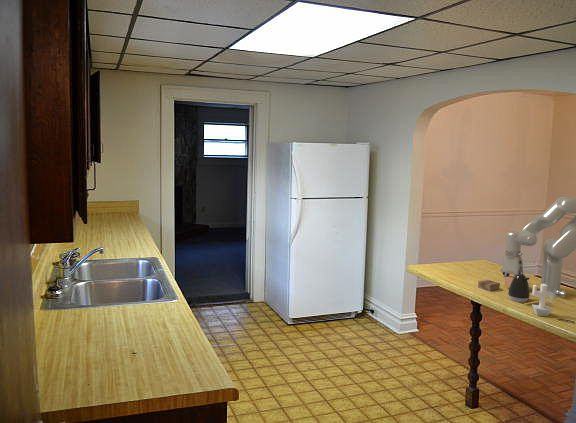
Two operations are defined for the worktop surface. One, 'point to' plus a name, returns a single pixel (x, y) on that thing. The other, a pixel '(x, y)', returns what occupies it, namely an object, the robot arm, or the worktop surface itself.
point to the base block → (488, 285)
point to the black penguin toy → (519, 289)
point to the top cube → (508, 280)
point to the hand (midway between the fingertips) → (511, 285)
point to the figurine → (542, 300)
